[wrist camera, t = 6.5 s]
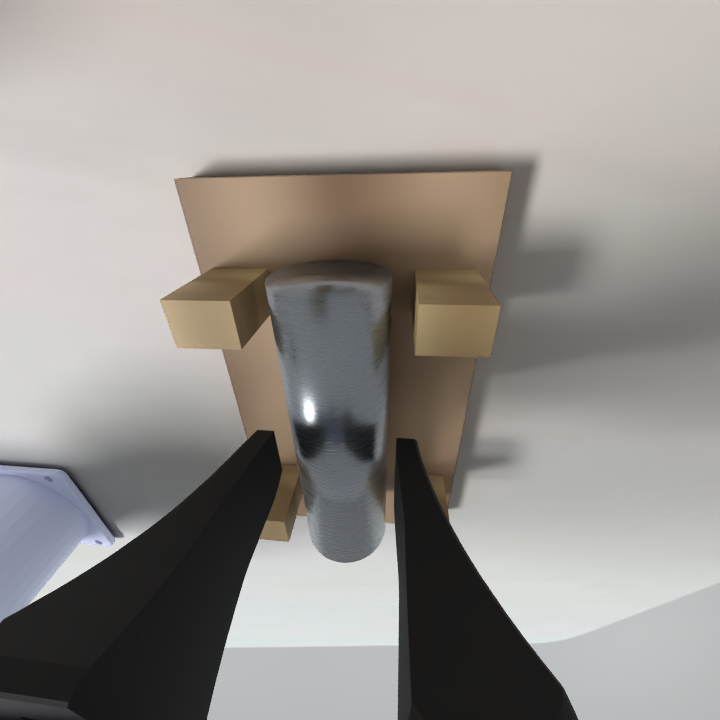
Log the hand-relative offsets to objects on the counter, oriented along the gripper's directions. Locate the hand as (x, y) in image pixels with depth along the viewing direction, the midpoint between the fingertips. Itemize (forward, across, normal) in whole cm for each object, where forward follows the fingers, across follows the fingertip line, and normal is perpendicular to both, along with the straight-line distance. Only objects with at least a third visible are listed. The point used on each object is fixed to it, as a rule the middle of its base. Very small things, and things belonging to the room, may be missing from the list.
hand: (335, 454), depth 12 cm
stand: (+4, 0, 0) cm, 4 cm away
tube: (+3, 0, 0) cm, 3 cm away
